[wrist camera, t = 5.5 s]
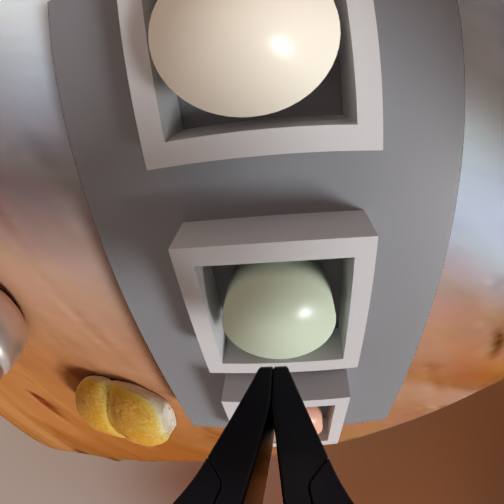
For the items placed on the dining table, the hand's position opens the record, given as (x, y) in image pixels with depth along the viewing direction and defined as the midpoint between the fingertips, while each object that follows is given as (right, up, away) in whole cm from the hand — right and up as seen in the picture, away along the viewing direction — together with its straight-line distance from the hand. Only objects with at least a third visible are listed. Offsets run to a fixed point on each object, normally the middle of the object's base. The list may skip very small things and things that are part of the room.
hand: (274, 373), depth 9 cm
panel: (+1, +3, +5) cm, 6 cm away
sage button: (0, +2, +3) cm, 4 cm away
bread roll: (-11, -9, +15) cm, 21 cm away
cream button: (-1, +9, -2) cm, 9 cm away
